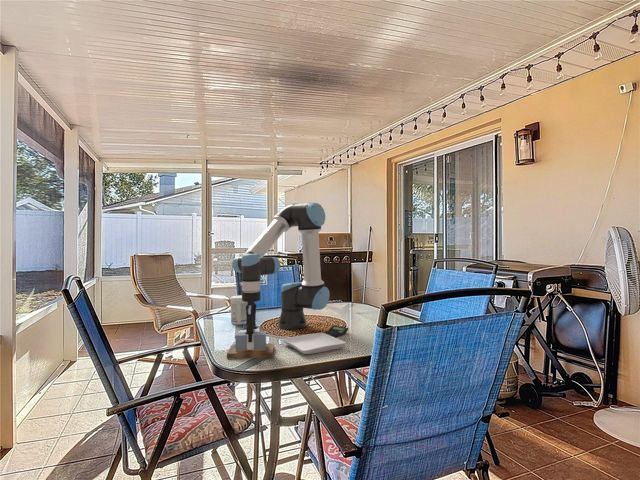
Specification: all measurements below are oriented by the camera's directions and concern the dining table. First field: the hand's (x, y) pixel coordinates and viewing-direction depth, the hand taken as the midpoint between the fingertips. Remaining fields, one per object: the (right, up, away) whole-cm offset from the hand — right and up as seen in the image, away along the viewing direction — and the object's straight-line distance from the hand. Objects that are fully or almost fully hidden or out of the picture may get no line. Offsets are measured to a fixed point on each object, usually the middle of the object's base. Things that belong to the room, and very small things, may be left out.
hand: (251, 347), depth 155 cm
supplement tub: (-16, -2, +53) cm, 55 cm away
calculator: (+35, -2, +29) cm, 45 cm away
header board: (0, -3, 0) cm, 3 cm away
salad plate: (+26, -3, +8) cm, 27 cm away
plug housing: (0, 0, 0) cm, 0 cm away
